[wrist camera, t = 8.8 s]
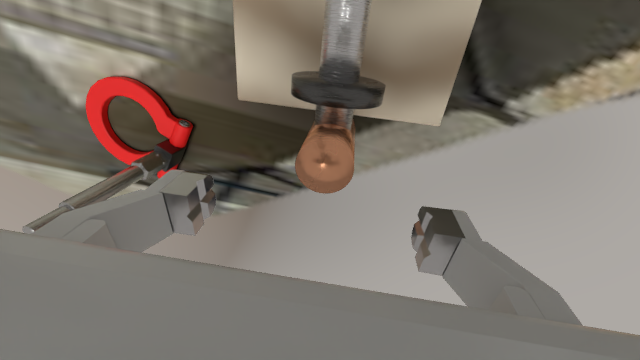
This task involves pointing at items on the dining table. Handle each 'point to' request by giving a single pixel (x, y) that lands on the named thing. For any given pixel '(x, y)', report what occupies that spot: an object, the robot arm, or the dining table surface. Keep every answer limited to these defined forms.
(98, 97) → the tow hook
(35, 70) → the dining table surface
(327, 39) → the flanged metal rod
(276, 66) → the base board
